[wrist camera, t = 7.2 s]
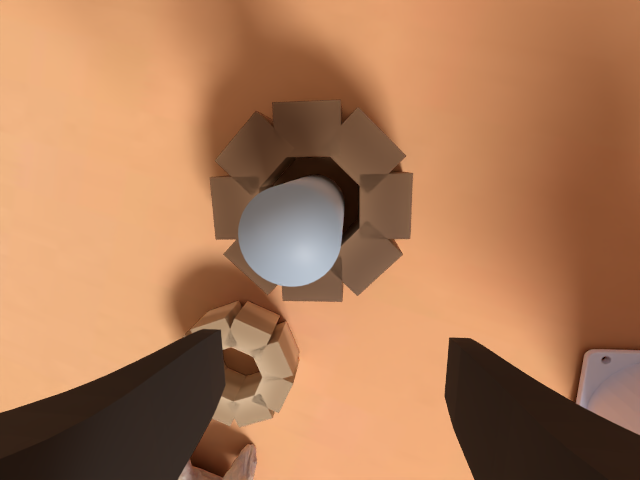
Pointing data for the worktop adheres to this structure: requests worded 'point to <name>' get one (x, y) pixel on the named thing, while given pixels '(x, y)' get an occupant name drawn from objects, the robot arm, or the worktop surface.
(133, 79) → the worktop surface
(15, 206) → the worktop surface
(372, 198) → the brown segmented ring
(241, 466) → the turtle
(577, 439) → the robot arm
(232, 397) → the beige notched ring
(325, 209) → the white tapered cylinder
